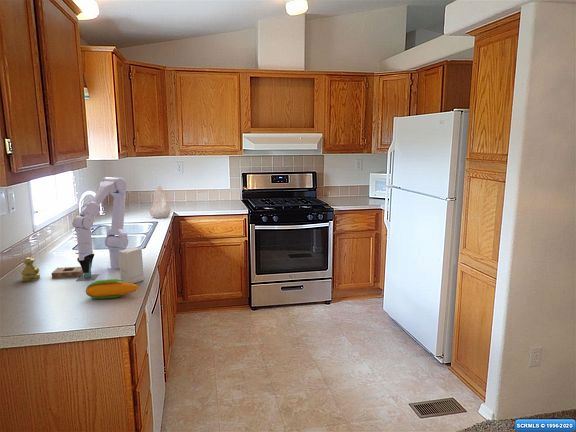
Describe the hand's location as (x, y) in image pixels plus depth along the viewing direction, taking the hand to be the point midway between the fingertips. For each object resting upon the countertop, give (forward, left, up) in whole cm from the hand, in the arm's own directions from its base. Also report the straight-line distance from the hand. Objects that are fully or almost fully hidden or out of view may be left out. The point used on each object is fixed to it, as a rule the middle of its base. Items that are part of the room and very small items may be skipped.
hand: (87, 271), depth 194 cm
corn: (-16, +26, -4) cm, 31 cm away
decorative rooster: (-17, -144, -3) cm, 146 cm away
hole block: (+10, -5, -3) cm, 11 cm away
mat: (0, 0, -3) cm, 3 cm away
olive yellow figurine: (+25, -3, -4) cm, 25 cm away
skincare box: (-21, +8, -3) cm, 23 cm away
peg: (0, 0, -3) cm, 3 cm away
